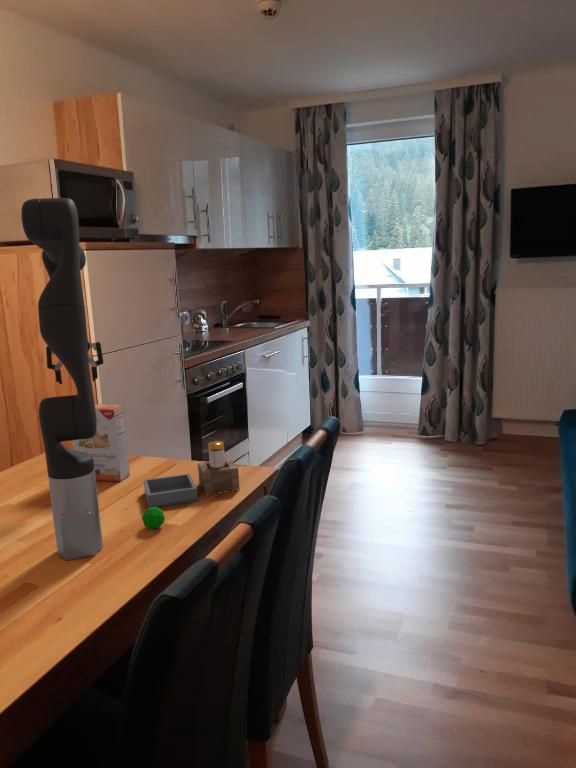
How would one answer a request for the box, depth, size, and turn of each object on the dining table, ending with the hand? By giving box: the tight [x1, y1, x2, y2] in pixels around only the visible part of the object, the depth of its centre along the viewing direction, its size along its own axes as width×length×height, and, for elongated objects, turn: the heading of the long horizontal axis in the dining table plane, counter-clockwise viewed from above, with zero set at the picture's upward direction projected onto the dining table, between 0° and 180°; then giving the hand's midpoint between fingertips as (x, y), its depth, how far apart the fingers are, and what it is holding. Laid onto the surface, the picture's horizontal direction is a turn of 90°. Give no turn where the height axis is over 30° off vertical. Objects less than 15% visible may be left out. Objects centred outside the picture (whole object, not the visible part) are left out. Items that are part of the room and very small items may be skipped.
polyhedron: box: [141, 507, 165, 530], centre depth 145 cm, size 5×5×5 cm
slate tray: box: [143, 473, 199, 509], centre depth 164 cm, size 12×12×4 cm
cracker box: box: [71, 403, 131, 483], centre depth 179 cm, size 14×6×21 cm, turn 76°
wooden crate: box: [197, 457, 240, 496], centre depth 169 cm, size 9×9×6 cm
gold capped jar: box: [207, 440, 226, 470], centre depth 169 cm, size 4×4×12 cm
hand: (77, 382), depth 172 cm, fingers open, 8 cm apart
